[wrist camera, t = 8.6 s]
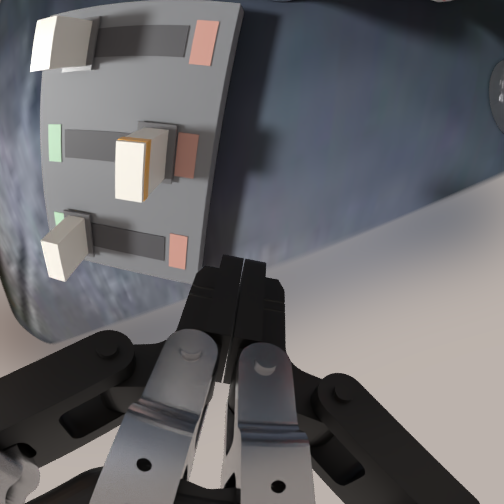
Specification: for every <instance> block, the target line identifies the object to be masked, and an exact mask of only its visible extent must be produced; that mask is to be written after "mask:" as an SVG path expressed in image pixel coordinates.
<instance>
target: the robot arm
mask: <svg viewBox="0 0 504 504" xmlns="http://www.w3.org/2000/svg"><path fill="white" fill-rule="evenodd" d="M489 99H490V106H491V110H492V114H493V117H494V119H495V122H496V124H497V125H498V127H499V129H500V130H501V131H502V133H503V134H504V60H502V61H500V62H499V63H498V64H497V65H496V66H495V68H494V70H493V72H492V75H491V78H490V85H489ZM243 260H244V258H239V257H234V256H229V255H224V254H223V257H222V261H221V264H220V268H215V267H210V266H204V267H203V268H202V269H201V270H200V271H199V272H197V273H196V276H195V278H194V281H193V284H192V287H191V290H190V292H189V295H188V298H187V301H186V304H185V307H184V310H183V313H182V316H181V319H180V322H179V325H178V328H177V330H176V331H175V333H173V334H172V335H170V336H169V338H168V339H167V340H165V341H163V342H160V343H156V344H141V345H133V344H132V342H131V340H130V339H129V338H128V337H127V336H126V335H124V334H122V333H121V332H118V331H113V330H104V331H100V332H97V333H95V334H93V335H91V336H89V337H86V338H84V339H82V340H80V341H78V342H76V343H74V344H72V345H70V346H67V347H65V348H63V349H61V350H59V351H57V352H55V353H53V354H50V355H49V356H46V357H44V358H42V359H40V360H38V361H36V362H33V363H31V364H29V365H27V366H25V367H23V368H21V369H18V370H16V371H14V372H12V373H10V374H8V375H6V376H4V377H1V378H0V504H24V502H25V499H26V497H27V496H28V495H29V494H30V493H31V492H33V491H34V490H35V489H36V488H37V486H38V484H39V480H40V472H39V468H40V467H42V466H44V465H46V464H48V463H50V462H52V461H54V460H56V459H58V458H60V457H62V456H64V455H66V454H68V453H70V452H72V451H74V450H76V449H77V448H79V447H81V446H83V445H85V444H87V443H88V442H90V441H92V440H94V439H96V438H97V437H99V436H101V435H103V434H105V433H107V432H108V431H110V430H112V429H113V428H115V427H117V426H119V425H120V428H119V430H118V432H117V435H116V437H115V439H114V442H113V444H112V447H111V449H110V452H109V454H108V456H107V459H106V461H105V464H104V466H103V467H98V468H94V469H90V470H88V471H85V472H83V473H81V474H79V475H78V476H76V477H74V478H72V479H70V480H69V481H67V482H65V483H63V484H61V485H60V486H58V487H56V488H54V489H52V490H50V491H49V492H47V493H45V494H43V495H41V496H39V497H37V498H35V499H33V500H31V501H29V502H27V503H25V504H315V494H314V484H313V474H312V469H313V470H314V471H315V472H316V473H317V474H318V475H319V476H320V478H322V480H323V481H324V482H325V483H326V484H327V485H328V486H329V487H330V488H331V490H332V491H333V492H334V493H335V494H336V495H337V496H338V497H339V498H340V499H341V500H342V501H343V502H344V503H345V504H480V503H479V501H478V500H477V499H476V498H475V497H474V496H473V495H472V494H471V493H470V492H469V491H468V490H467V489H465V487H463V485H461V484H460V483H459V482H458V481H457V480H456V479H455V478H454V477H453V476H452V475H451V474H450V473H449V472H448V471H447V470H446V469H445V468H444V467H443V466H442V465H441V464H440V463H439V462H438V461H437V460H436V459H435V458H434V457H433V456H432V455H431V454H430V453H429V452H428V451H427V450H426V449H425V448H424V447H423V446H422V445H421V444H420V443H419V442H418V441H417V440H416V439H415V438H414V437H413V436H412V435H411V434H410V433H409V432H408V431H406V430H405V428H403V426H402V425H401V424H400V423H399V422H397V420H396V419H394V417H393V416H392V415H391V414H390V413H389V412H388V411H387V410H386V409H385V408H384V407H383V406H382V405H380V403H379V402H378V401H377V400H376V399H375V398H374V397H373V396H372V395H371V394H370V393H369V392H368V391H367V390H366V389H365V388H364V387H363V386H362V385H361V384H360V383H359V382H358V381H357V380H356V379H354V378H353V377H351V376H349V375H346V374H342V373H334V374H330V375H328V376H326V377H325V378H323V379H320V378H318V377H315V376H313V375H310V374H308V373H305V372H303V371H301V370H300V369H298V368H297V367H296V366H295V365H293V363H292V362H291V361H290V359H289V357H288V355H287V353H286V348H285V304H284V302H285V297H284V289H283V287H282V286H281V284H280V282H279V280H277V279H272V278H266V277H265V276H266V263H265V262H260V261H255V260H250V259H245V263H244V267H243V272H242V266H243ZM241 272H242V276H241ZM240 279H241V281H240ZM239 285H240V286H239ZM227 354H228V356H227ZM226 358H227V362H226ZM225 363H226V368H225V375H224V382H223V383H227V384H230V389H229V396H228V400H227V404H226V416H225V438H224V458H223V465H222V474H221V489H206V488H203V487H200V486H198V485H196V484H193V483H191V482H189V477H190V473H191V470H192V465H193V461H194V457H195V453H196V449H197V445H198V441H199V438H200V434H201V431H202V427H203V423H204V419H205V415H206V412H207V409H208V405H209V402H210V400H211V399H212V396H213V391H214V386H215V382H220V383H221V380H222V376H223V371H224V367H225Z"/></svg>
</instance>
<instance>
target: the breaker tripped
mask: <svg viewBox="0 0 504 504" xmlns="http://www.w3.org/2000/svg"><path fill="white" fill-rule="evenodd" d="M177 128H178V125H173V124H163V123H153V122H142V121H139V122H138V128H137V131H136V132H133V133H131V134H129V135H127V136H125V137H121V138H119V139H118V140H117V141H116V154H115V198H116V199H122V200H128V201H134V202H140V203H142V202H143V201H145V200H146V199H147V198H148V195H149V194H150V193H151V192H152V191H153V190H154V189H155V188H156V187H157V186H158V185H159V184H160V183H165V184H172V176H173V165H174V155H175V146H176V137H177Z"/></svg>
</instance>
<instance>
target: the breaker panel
mask: <svg viewBox="0 0 504 504" xmlns="http://www.w3.org/2000/svg"><path fill="white" fill-rule="evenodd" d="M57 15H58V16H65V17H72V18H79V19H82V18H88V17H94V16H101V19H100V24H99V29H98V35H97V41H96V47H95V54H94V62H93V70H86V71H73V72H63V73H62V68H58V69H48V70H43V72H42V85H41V105H40V142H41V163H42V176H43V187H44V196H45V204H46V211H47V218H48V225H49V231H51V230H52V229H53V228H54V227H56V226H57V225H58V224H59V223H60V222H61V221H62V220H63V219H64V212H63V210H70V211H76V212H81V213H87V214H90V216H91V227H92V237H93V246H94V254H95V257H89V256H86V257H85V258H84V259H83V260H86V261H90V262H94V263H98V264H102V265H107V266H111V267H115V268H119V269H124V270H128V271H132V272H137V273H141V274H146V275H150V276H155V277H160V278H164V279H169V280H174V281H178V282H183V283H188V284H193V281H194V278H195V276H196V273H197V272H199V271H200V270H201V269H202V264H203V255H204V247H205V238H206V230H207V223H208V215H209V207H210V200H211V193H212V186H213V179H214V172H215V165H216V159H217V152H218V146H219V140H220V134H221V128H222V122H223V116H224V110H225V105H226V99H227V94H228V88H229V83H230V78H231V73H232V67H233V62H234V57H235V52H236V48H237V43H238V38H239V33H240V29H241V24H242V20H243V15H244V11H243V8H242V6H241V4H239V3H230V2H218V1H201V0H154V1H137V2H126V3H116V4H108V5H101V6H95V7H89V8H83V9H78V10H73V11H68V12H64V13H60V14H56V15H52V16H51V17H53V16H57ZM139 121H142V122H153V123H163V124H173V125H178V128H177V137H176V146H175V155H174V165H173V176H172V184H165V183H160V184H159V185H158V186H157V187H156V188H155V189H154V190H153V191H152V192H151V193H150V194H149V195H148V198H147V199H146V200H145V201H143V202H142V203H140V202H134V201H128V200H122V199H116V198H115V154H116V141H117V140H118V139H119V138H121V137H125V136H127V135H129V134H131V133H133V132H136V131H137V128H138V122H139Z"/></svg>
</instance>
